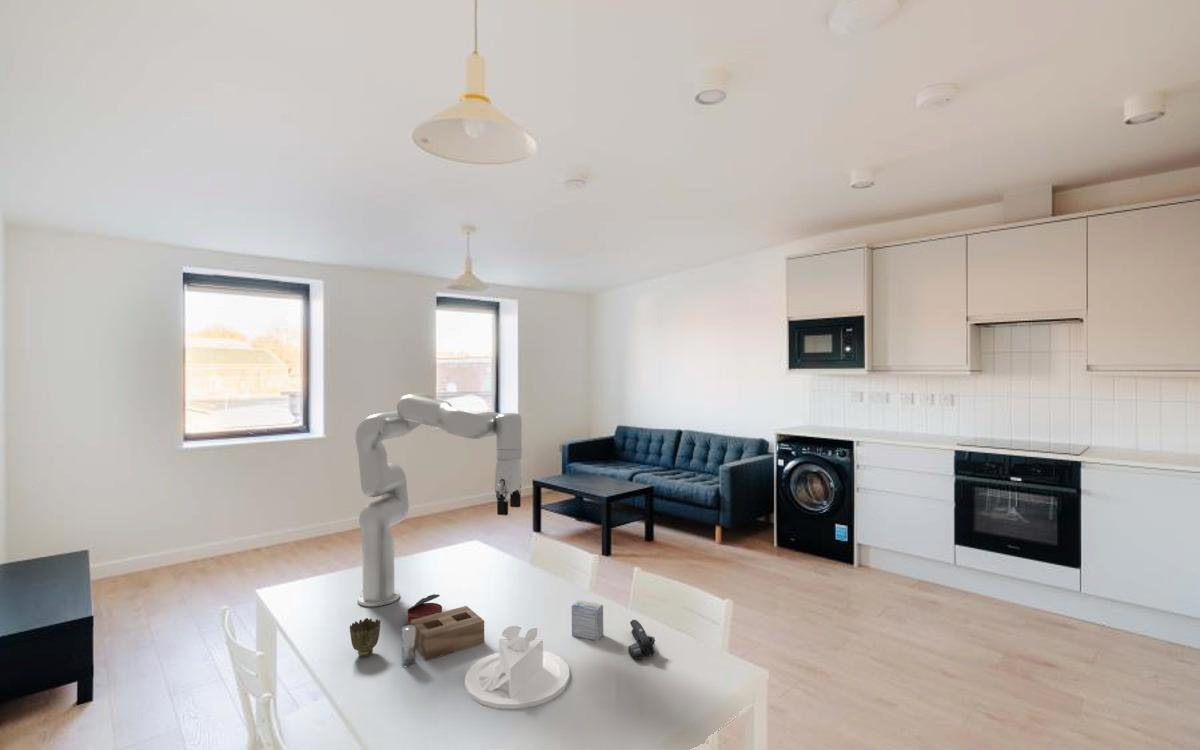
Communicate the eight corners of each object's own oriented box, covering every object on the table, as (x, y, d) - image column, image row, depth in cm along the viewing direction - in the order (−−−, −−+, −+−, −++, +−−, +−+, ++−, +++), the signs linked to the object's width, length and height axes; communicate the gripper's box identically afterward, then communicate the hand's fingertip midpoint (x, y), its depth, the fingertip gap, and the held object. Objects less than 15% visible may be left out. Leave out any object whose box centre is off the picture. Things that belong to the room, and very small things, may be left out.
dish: (478, 653, 150) (478, 610, 150) (573, 654, 149) (573, 611, 149) (451, 709, 125) (450, 657, 125) (564, 711, 124) (564, 659, 124)
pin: (400, 663, 144) (400, 627, 144) (413, 659, 146) (413, 624, 146) (404, 668, 142) (404, 632, 141) (417, 664, 143) (417, 628, 143)
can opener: (658, 662, 145) (658, 640, 145) (630, 664, 144) (631, 641, 144) (646, 630, 162) (646, 611, 162) (622, 631, 162) (622, 611, 162)
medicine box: (603, 635, 159) (603, 604, 159) (597, 641, 155) (597, 610, 155) (578, 629, 163) (578, 599, 163) (571, 636, 159) (571, 605, 159)
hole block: (410, 642, 155) (410, 620, 155) (466, 626, 164) (466, 605, 164) (425, 660, 145) (425, 637, 145) (484, 642, 155) (484, 620, 155)
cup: (386, 650, 151) (386, 620, 151) (366, 663, 144) (366, 632, 144) (363, 645, 153) (363, 616, 153) (343, 658, 146) (343, 627, 146)
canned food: (413, 642, 165) (396, 615, 163) (417, 623, 174) (400, 597, 172) (449, 622, 166) (432, 594, 164) (451, 604, 176) (435, 578, 174)
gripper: (508, 449, 182) (508, 503, 182) (485, 458, 165) (485, 517, 165) (531, 450, 180) (531, 504, 180) (509, 459, 163) (509, 518, 163)
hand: (509, 510), depth 173 cm, fingers open, 9 cm apart
